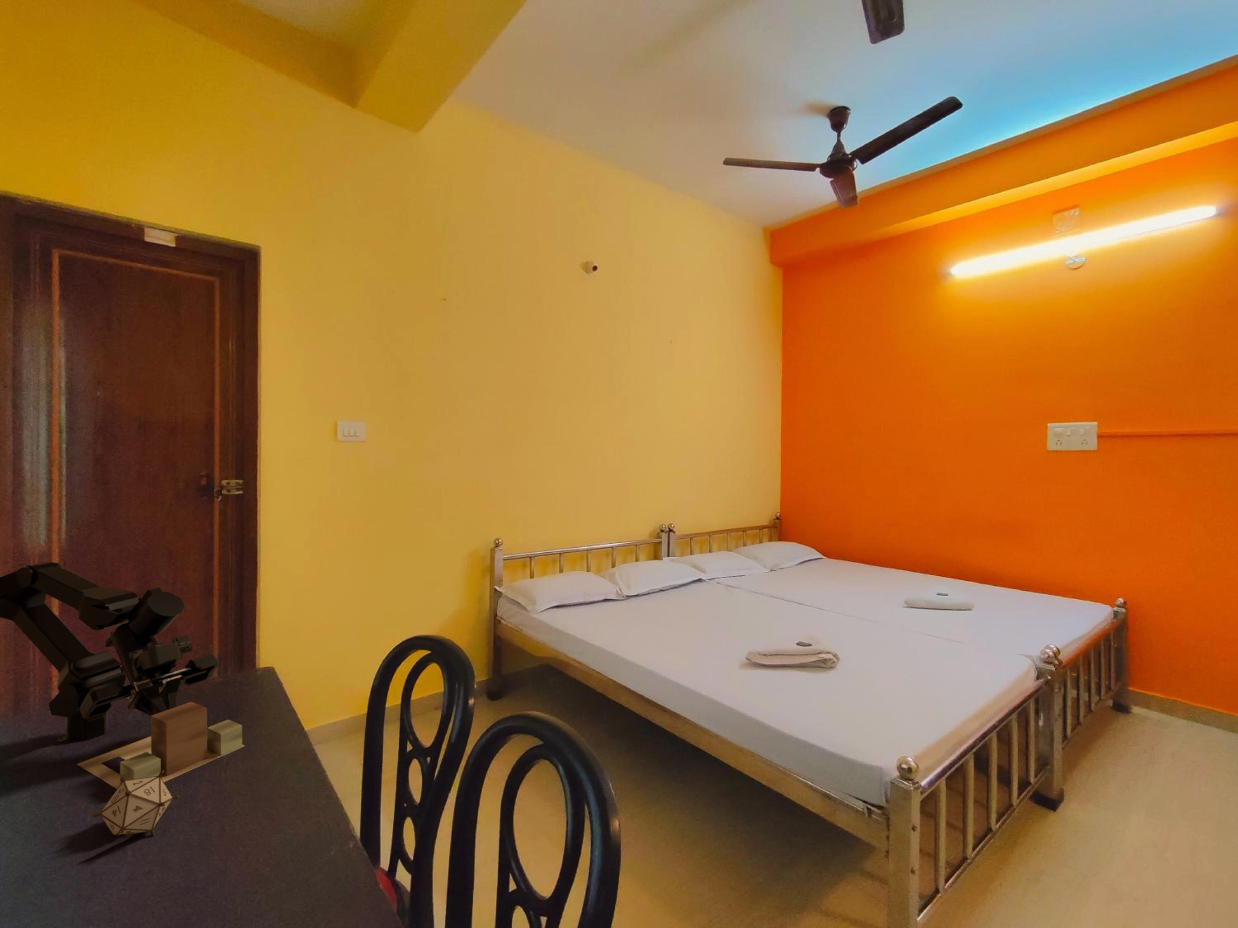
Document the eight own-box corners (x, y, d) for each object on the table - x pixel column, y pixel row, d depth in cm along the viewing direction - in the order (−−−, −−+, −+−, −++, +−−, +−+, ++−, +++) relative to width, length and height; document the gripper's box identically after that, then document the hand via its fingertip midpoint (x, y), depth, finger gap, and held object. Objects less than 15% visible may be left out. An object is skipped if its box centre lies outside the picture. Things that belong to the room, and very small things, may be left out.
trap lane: (77, 770, 95) (76, 740, 95) (190, 727, 110) (190, 701, 110) (130, 804, 86) (130, 771, 86) (245, 751, 102) (245, 724, 101)
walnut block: (151, 767, 94) (151, 715, 94) (191, 750, 99) (191, 701, 99) (166, 776, 92) (166, 722, 92) (207, 758, 97) (207, 707, 97)
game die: (138, 865, 79) (114, 839, 73) (94, 835, 81) (67, 807, 75) (198, 803, 86) (181, 775, 80) (156, 777, 88) (137, 747, 82)
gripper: (87, 641, 90) (120, 723, 86) (213, 612, 107) (246, 680, 102) (66, 678, 94) (97, 760, 90) (191, 645, 111) (222, 712, 106)
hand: (171, 724), depth 97 cm, fingers closed, pressing on walnut block
